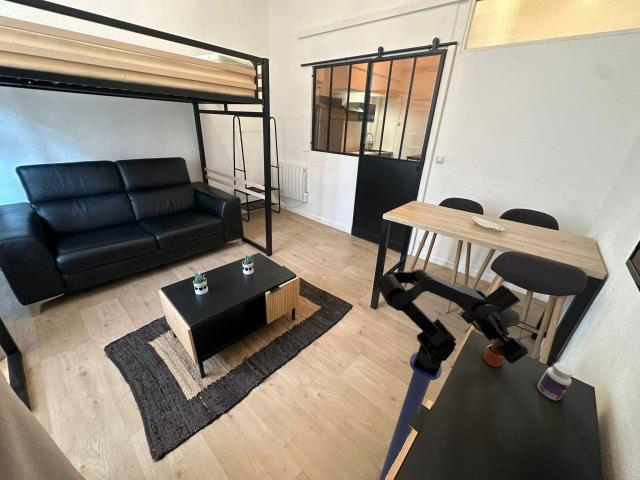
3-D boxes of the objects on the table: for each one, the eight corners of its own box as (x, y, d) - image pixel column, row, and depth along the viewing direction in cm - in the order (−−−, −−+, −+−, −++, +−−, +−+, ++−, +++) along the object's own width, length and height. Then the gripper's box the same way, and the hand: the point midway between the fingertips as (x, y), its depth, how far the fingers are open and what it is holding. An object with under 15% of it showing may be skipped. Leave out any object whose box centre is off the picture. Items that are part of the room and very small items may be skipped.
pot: (482, 362, 83) (487, 352, 81) (482, 352, 87) (487, 342, 85) (500, 369, 81) (505, 359, 79) (499, 358, 85) (504, 349, 83)
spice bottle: (492, 363, 82) (506, 333, 77) (485, 356, 84) (498, 327, 79) (498, 362, 83) (513, 332, 78) (491, 355, 85) (505, 326, 80)
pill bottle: (561, 404, 71) (577, 381, 67) (537, 393, 74) (552, 369, 70) (559, 391, 75) (574, 367, 71) (536, 380, 78) (550, 357, 74)
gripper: (537, 326, 65) (553, 354, 72) (484, 285, 82) (501, 310, 88) (500, 350, 67) (519, 375, 73) (455, 305, 84) (474, 329, 90)
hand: (502, 344), depth 81 cm, fingers open, 6 cm apart
